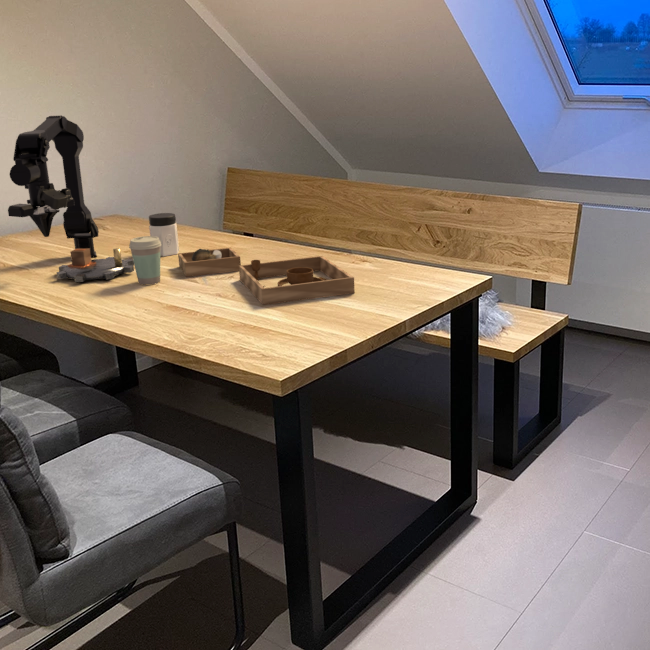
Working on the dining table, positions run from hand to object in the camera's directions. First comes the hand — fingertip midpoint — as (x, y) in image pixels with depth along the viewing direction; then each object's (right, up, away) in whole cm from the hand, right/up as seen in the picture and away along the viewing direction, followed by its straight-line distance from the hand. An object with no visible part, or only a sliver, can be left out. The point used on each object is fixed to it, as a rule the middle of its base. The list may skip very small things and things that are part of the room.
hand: (46, 236), depth 222 cm
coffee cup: (+30, -13, -4) cm, 33 cm away
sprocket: (+12, -10, +6) cm, 17 cm away
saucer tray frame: (+70, -15, -14) cm, 73 cm away
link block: (+7, -7, +8) cm, 13 cm away
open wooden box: (+44, -8, +7) cm, 46 cm away
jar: (+28, -2, +28) cm, 40 cm away
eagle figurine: (+44, -9, +6) cm, 45 cm away
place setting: (+69, -14, -11) cm, 71 cm away
